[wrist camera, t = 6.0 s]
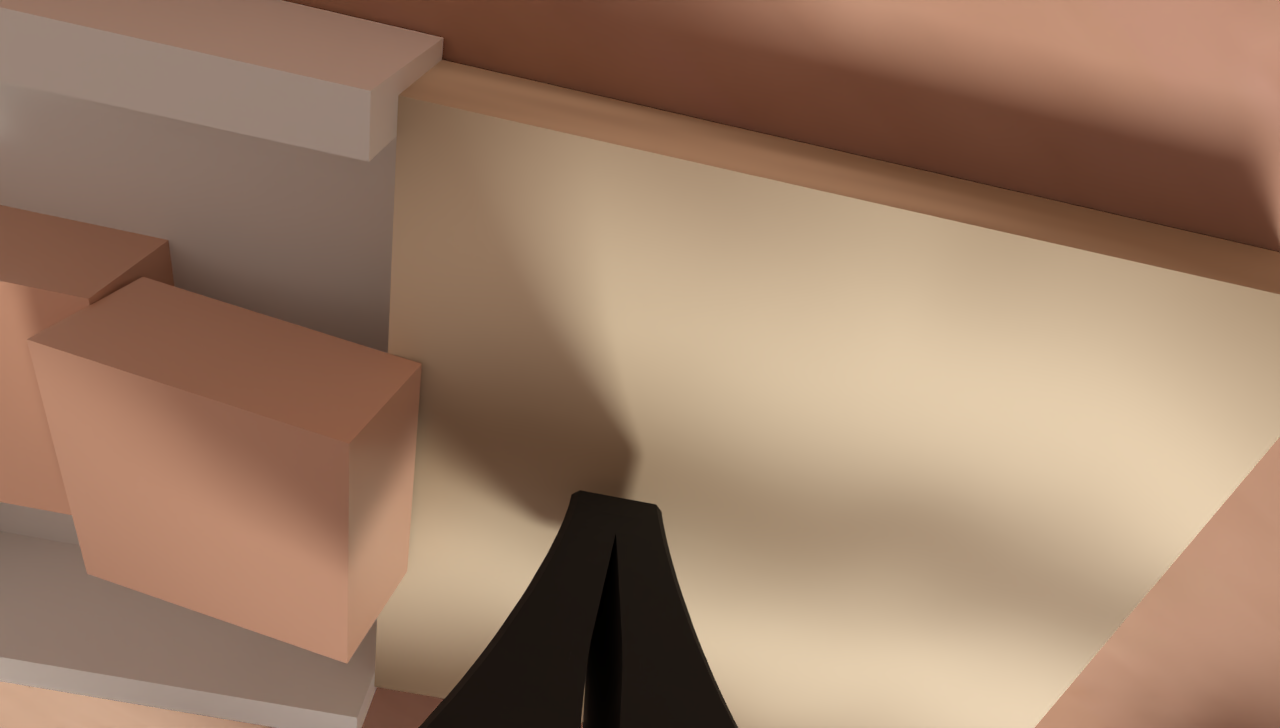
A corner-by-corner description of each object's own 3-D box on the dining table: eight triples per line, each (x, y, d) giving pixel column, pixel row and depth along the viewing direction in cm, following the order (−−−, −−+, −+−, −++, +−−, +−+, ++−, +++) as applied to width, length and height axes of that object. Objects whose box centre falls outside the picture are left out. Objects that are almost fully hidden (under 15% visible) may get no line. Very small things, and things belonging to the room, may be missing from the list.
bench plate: (954, 706, 19) (980, 791, 17) (404, 607, 18) (374, 686, 16) (1284, 253, 12) (1381, 317, 10) (441, 60, 11) (398, 94, 9)
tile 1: (406, 571, 14) (347, 663, 12) (176, 494, 14) (86, 574, 13) (421, 364, 11) (349, 443, 10) (142, 276, 12) (26, 339, 10)
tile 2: (196, 452, 15) (134, 526, 13) (-48, 405, 15) (-143, 475, 13) (168, 239, 13) (87, 298, 11) (-124, 178, 12) (-254, 229, 11)
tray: (403, 616, 18) (356, 741, 15) (-46, 535, 17) (-171, 652, 15) (443, 37, 11) (370, 91, 8) (-298, -135, 10) (-617, -133, 8)
